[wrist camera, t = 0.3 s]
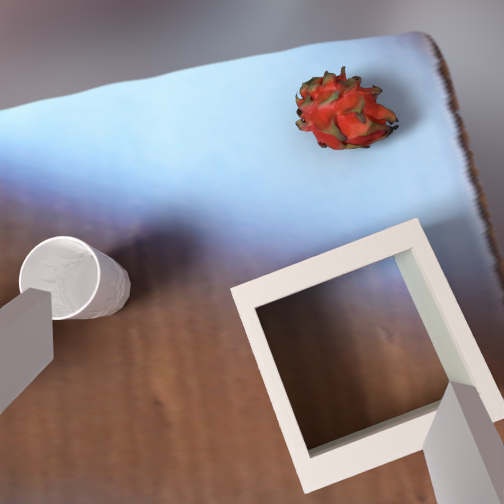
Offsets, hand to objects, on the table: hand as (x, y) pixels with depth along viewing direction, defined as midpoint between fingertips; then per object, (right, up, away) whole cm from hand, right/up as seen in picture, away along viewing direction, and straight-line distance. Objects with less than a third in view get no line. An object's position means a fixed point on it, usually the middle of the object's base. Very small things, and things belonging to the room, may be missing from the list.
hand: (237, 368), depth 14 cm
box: (+11, -6, +33) cm, 35 cm away
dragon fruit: (+11, +19, +38) cm, 44 cm away
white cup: (-17, 0, +36) cm, 40 cm away
